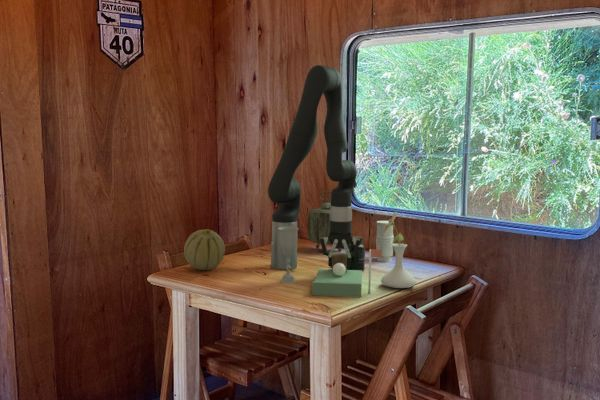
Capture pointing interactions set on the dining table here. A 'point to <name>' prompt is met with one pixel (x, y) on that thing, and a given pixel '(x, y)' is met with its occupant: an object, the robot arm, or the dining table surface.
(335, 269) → the ball
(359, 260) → the supplement bottle
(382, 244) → the candle
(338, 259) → the wooden channel cradle
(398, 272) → the flower in vase
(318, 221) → the tabletop clock
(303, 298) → the dining table surface
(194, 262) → the cantaloupe
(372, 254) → the flag pin
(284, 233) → the chalice
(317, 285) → the green
